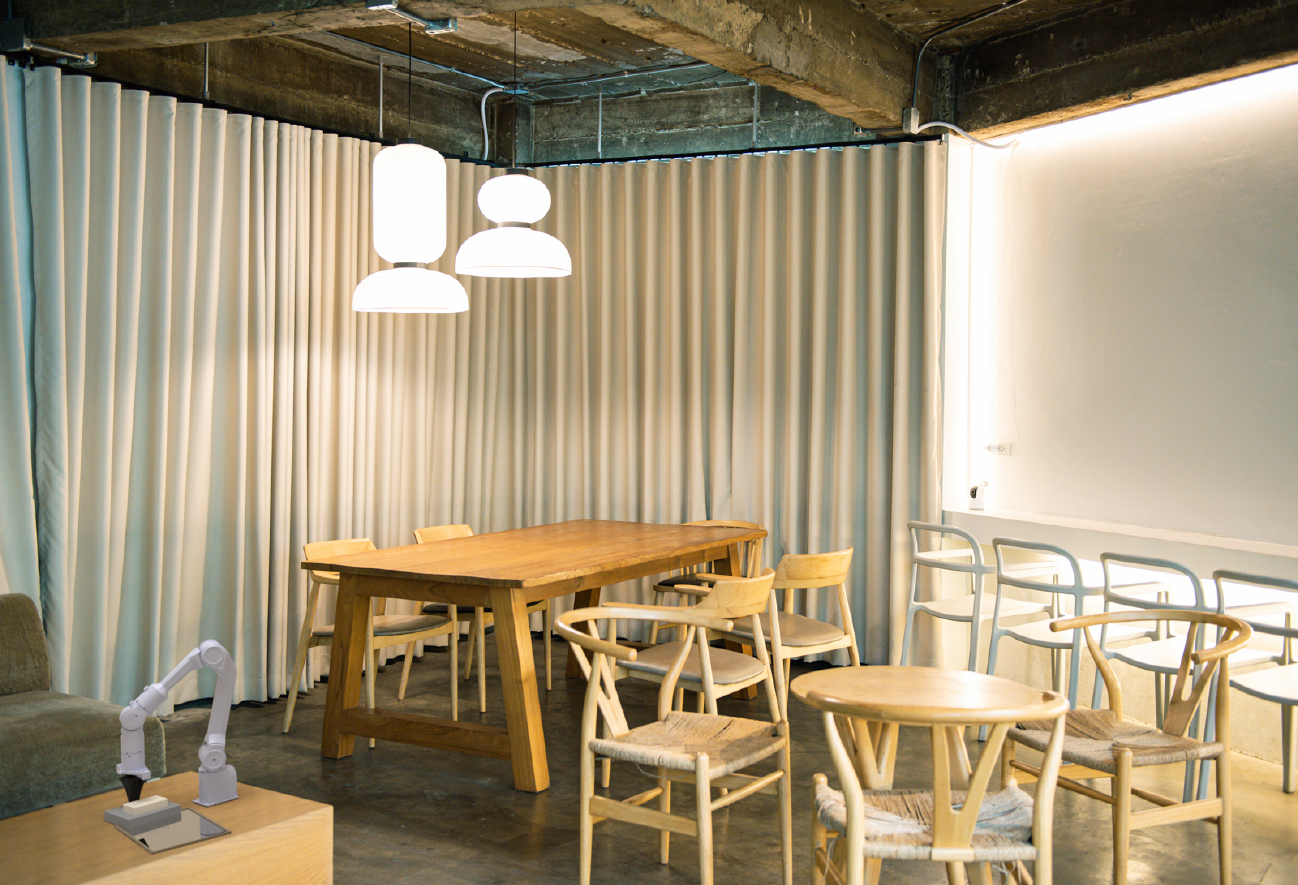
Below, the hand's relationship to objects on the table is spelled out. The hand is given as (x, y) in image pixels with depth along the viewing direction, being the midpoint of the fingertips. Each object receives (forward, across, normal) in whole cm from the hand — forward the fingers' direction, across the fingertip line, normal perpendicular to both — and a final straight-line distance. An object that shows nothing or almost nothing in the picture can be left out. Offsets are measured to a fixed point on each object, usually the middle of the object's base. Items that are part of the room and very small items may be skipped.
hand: (134, 802), depth 285 cm
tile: (+1, +6, 0) cm, 6 cm away
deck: (+3, +5, 0) cm, 6 cm away
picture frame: (+4, +21, -1) cm, 21 cm away
